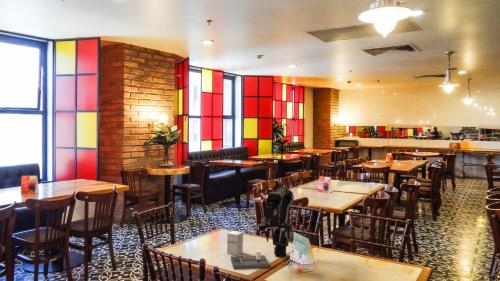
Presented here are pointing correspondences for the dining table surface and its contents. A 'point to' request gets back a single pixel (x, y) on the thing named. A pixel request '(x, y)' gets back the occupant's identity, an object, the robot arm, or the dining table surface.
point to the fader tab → (258, 255)
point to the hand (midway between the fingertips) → (273, 241)
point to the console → (249, 262)
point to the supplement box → (235, 242)
